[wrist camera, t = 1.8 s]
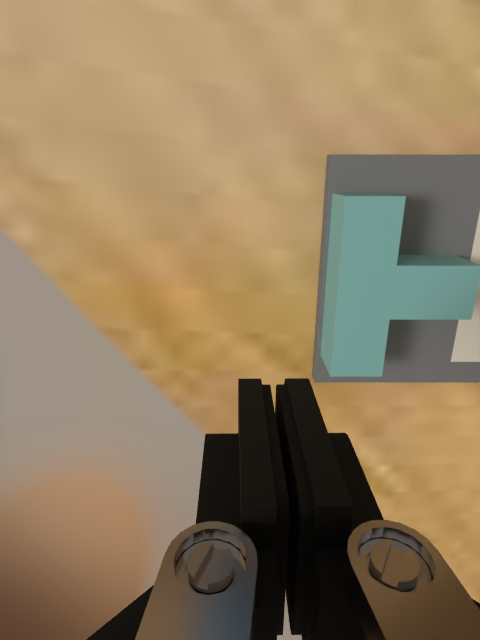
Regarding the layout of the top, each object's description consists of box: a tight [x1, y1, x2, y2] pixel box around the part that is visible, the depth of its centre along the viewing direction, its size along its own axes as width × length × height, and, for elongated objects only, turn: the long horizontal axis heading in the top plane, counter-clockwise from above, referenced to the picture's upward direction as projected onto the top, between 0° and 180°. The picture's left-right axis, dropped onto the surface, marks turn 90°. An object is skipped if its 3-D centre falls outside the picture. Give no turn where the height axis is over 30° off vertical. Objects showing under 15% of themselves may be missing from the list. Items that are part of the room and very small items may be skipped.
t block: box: [321, 193, 480, 377], centre depth 24 cm, size 10×8×3 cm
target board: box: [312, 155, 480, 382], centre depth 26 cm, size 14×18×1 cm
